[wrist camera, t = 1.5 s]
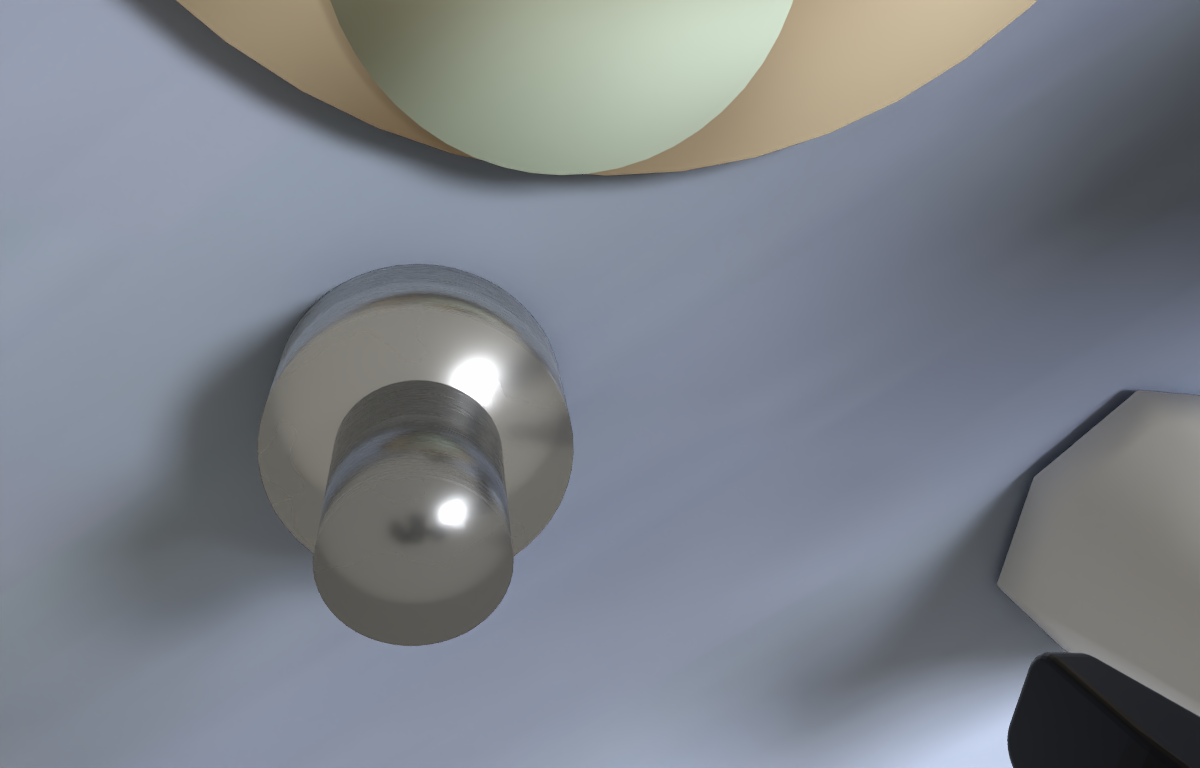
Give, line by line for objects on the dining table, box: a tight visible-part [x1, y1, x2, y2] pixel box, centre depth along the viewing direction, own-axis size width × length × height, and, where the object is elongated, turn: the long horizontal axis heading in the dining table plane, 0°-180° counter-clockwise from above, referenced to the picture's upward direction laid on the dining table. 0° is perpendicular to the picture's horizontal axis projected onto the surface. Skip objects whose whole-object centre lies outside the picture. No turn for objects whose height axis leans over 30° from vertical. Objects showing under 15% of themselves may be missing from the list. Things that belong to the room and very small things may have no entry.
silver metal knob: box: [258, 264, 573, 646], centre depth 20 cm, size 6×6×6 cm
